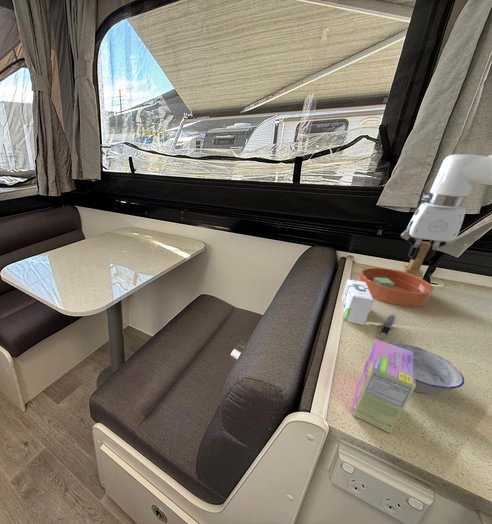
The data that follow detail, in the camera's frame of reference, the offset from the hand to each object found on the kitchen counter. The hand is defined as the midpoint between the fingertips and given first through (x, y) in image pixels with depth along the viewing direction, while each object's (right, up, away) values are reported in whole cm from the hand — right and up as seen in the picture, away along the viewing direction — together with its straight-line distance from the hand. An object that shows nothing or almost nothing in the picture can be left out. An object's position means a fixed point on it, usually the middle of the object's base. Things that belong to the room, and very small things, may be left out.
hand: (417, 258), depth 85 cm
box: (-42, -30, -31) cm, 60 cm away
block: (-5, -11, +8) cm, 14 cm away
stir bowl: (-3, -12, +7) cm, 14 cm away
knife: (-19, -19, -9) cm, 28 cm away
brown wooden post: (0, -4, +2) cm, 5 cm away
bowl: (-28, -27, -26) cm, 46 cm away
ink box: (-26, -15, -10) cm, 32 cm away
